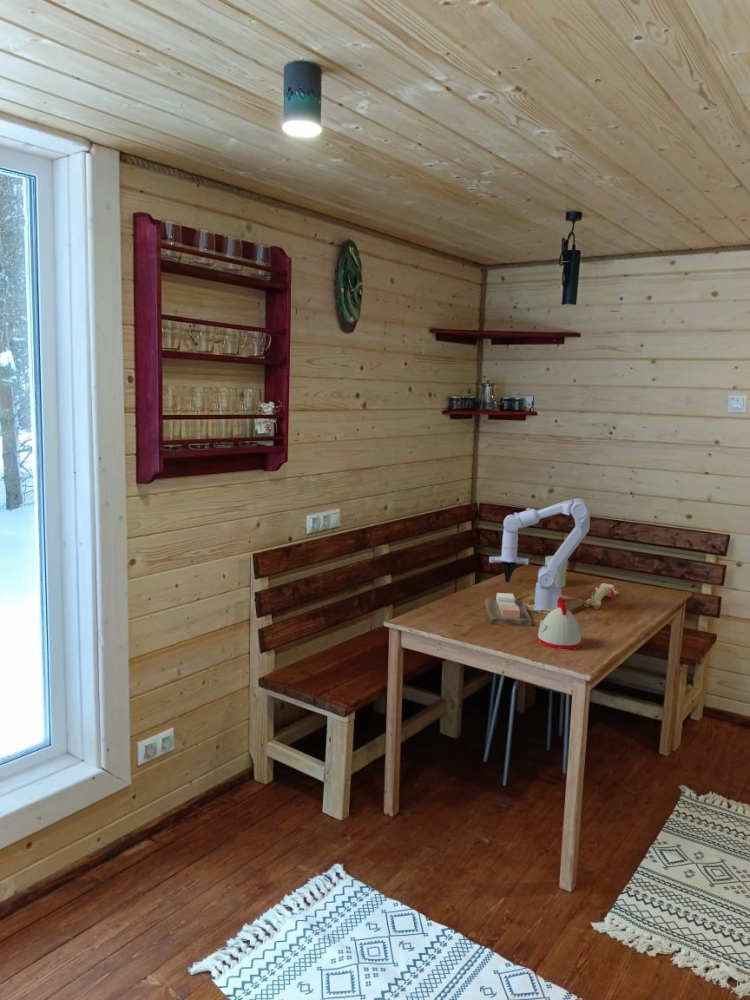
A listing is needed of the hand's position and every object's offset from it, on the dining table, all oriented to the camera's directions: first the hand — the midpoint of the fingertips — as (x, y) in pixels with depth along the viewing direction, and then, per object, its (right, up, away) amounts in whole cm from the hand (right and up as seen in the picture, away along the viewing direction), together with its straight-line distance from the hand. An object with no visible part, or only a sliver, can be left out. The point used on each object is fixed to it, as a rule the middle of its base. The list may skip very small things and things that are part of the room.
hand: (507, 581), depth 286 cm
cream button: (-1, -8, -3) cm, 9 cm away
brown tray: (-2, -11, -10) cm, 15 cm away
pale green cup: (+26, -5, +33) cm, 42 cm away
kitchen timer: (+10, -16, -38) cm, 42 cm away
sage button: (-2, -11, -10) cm, 15 cm away
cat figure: (+39, -9, +12) cm, 42 cm away
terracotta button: (-2, -11, -18) cm, 21 cm away
